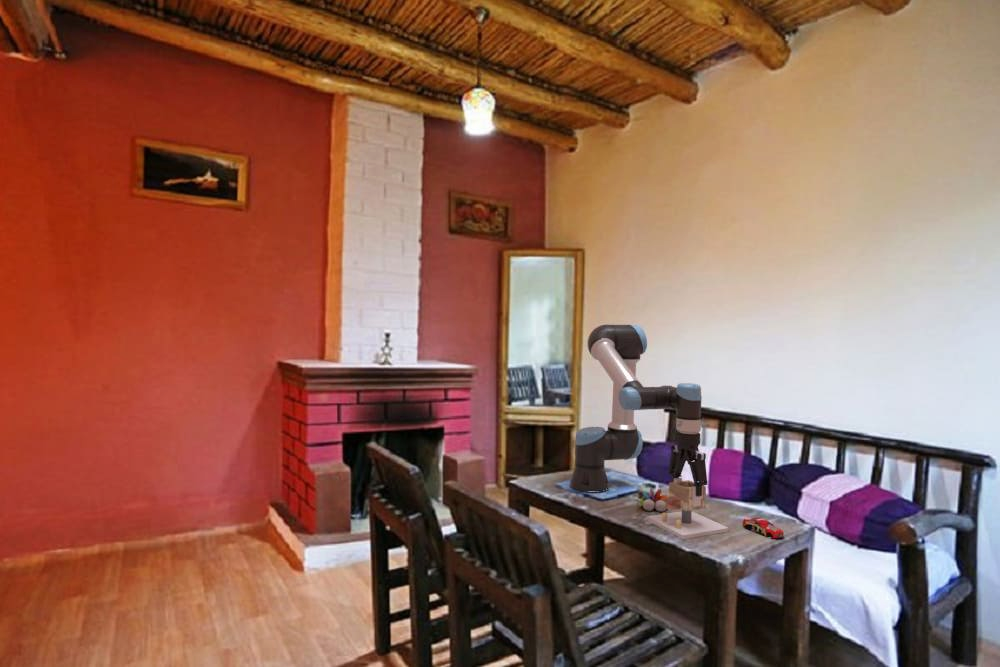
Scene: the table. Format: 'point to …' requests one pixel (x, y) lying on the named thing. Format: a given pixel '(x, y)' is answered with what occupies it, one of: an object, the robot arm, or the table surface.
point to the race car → (762, 527)
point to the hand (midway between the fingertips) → (686, 501)
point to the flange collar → (683, 496)
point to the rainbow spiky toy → (653, 501)
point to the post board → (687, 524)
